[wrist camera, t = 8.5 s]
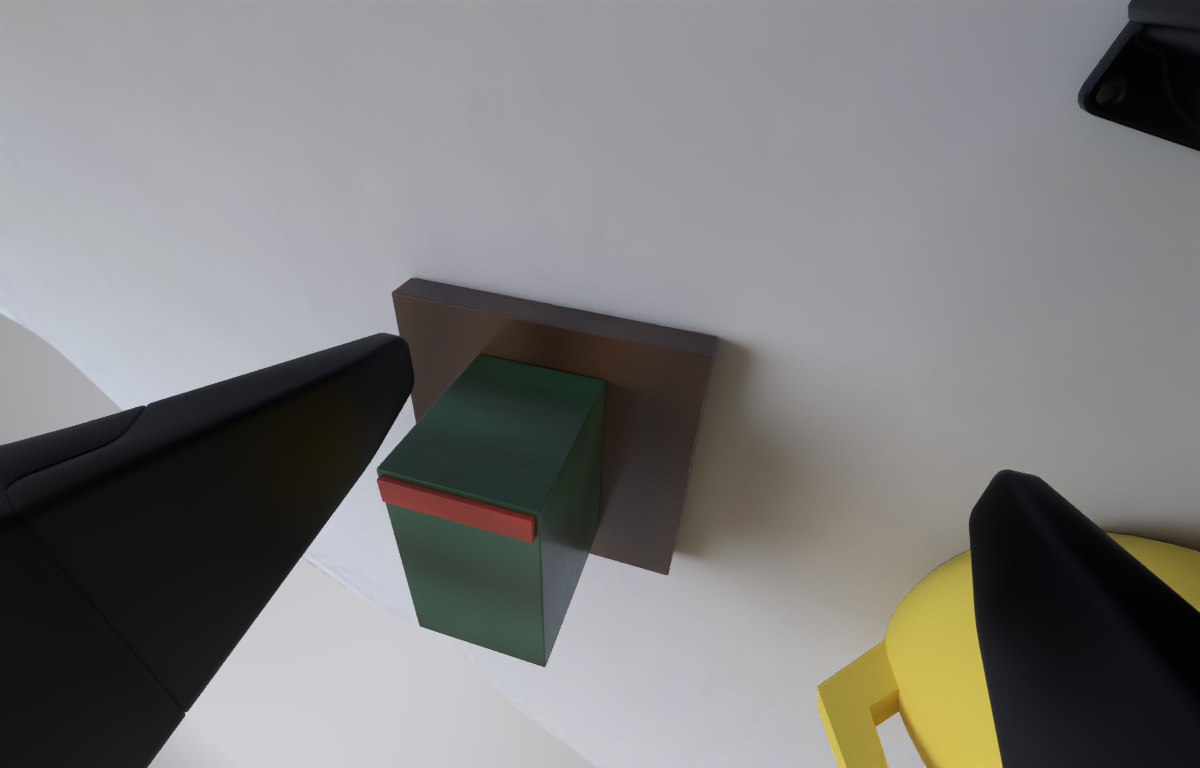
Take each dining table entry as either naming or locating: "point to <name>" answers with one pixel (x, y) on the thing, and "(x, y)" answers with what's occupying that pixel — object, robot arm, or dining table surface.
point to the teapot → (946, 668)
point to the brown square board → (592, 349)
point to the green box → (499, 503)
